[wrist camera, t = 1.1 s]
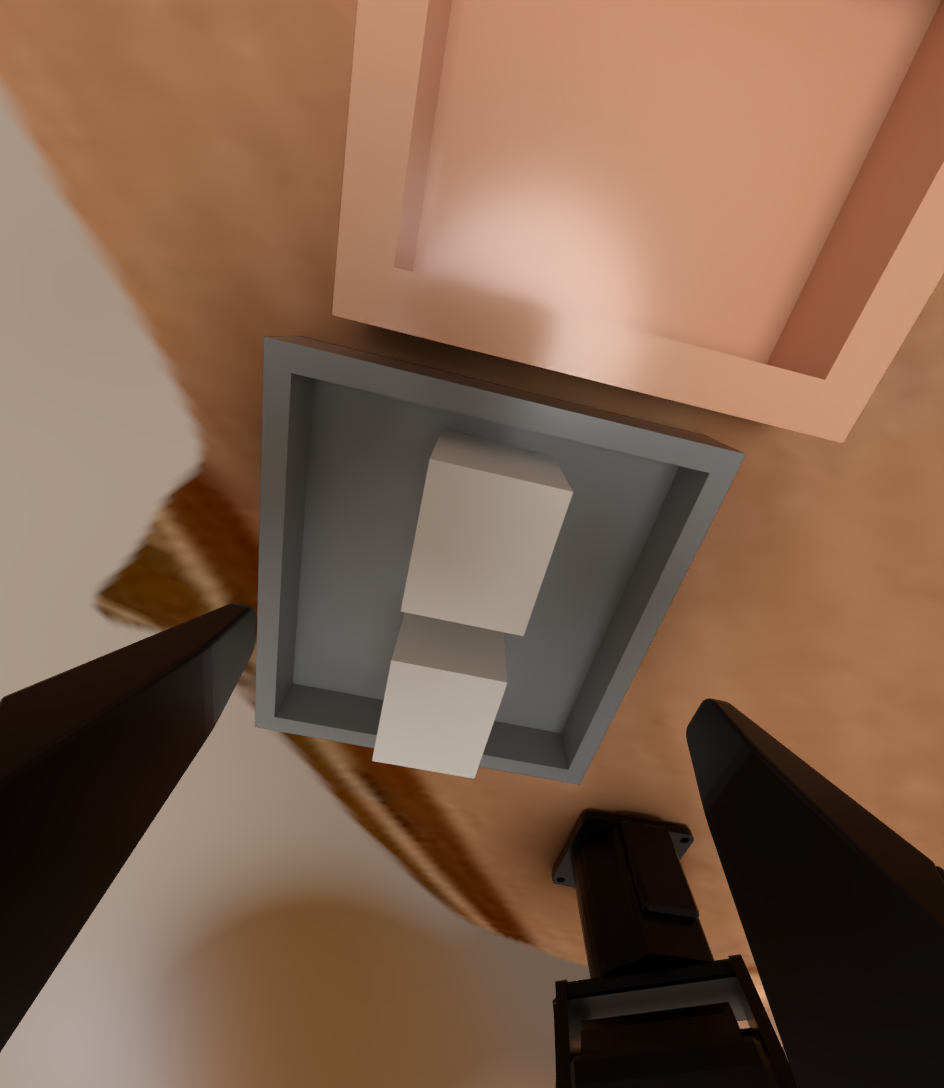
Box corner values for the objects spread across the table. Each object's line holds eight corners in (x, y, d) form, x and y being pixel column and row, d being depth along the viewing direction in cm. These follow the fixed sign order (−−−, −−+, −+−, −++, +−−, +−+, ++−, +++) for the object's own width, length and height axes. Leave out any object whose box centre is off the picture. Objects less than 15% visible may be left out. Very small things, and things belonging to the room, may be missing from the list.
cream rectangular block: (515, 574, 18) (523, 636, 14) (417, 554, 18) (400, 611, 14) (552, 455, 16) (573, 491, 12) (442, 429, 15) (429, 458, 12)
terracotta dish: (770, 420, 16) (842, 443, 12) (364, 318, 15) (332, 315, 11) (1008, -45, 11) (1223, -200, 8) (427, -251, 10) (401, -530, 7)
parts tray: (569, 737, 23) (579, 784, 20) (279, 683, 21) (254, 726, 19) (707, 436, 16) (745, 454, 14) (298, 335, 15) (263, 336, 12)
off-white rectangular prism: (475, 701, 21) (474, 778, 17) (391, 685, 21) (372, 760, 17) (502, 615, 19) (507, 682, 15) (409, 595, 18) (391, 660, 15)
